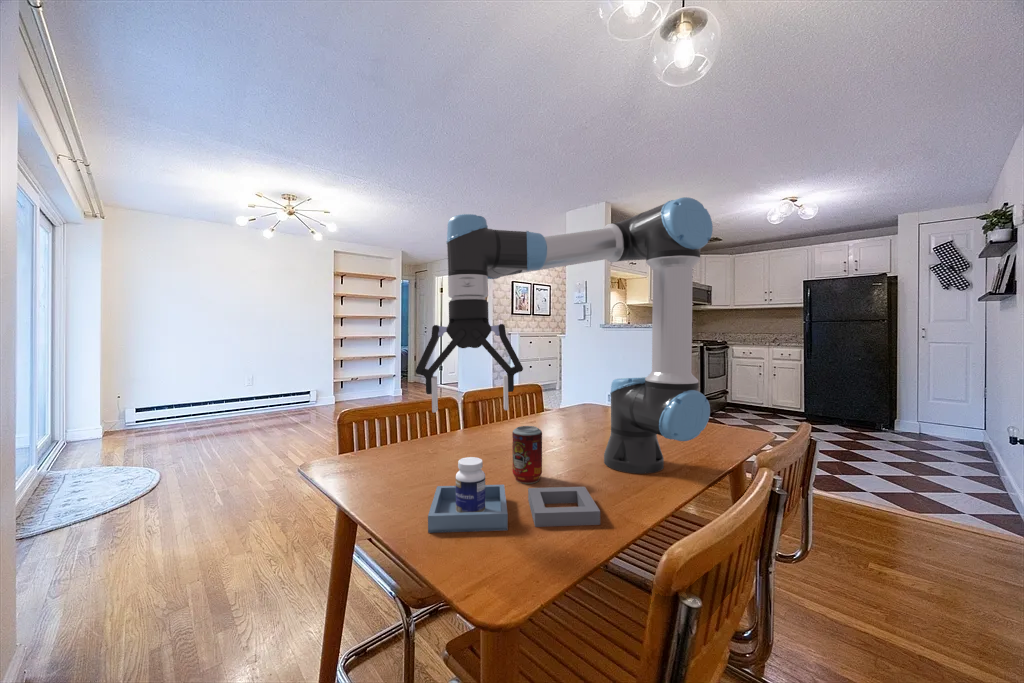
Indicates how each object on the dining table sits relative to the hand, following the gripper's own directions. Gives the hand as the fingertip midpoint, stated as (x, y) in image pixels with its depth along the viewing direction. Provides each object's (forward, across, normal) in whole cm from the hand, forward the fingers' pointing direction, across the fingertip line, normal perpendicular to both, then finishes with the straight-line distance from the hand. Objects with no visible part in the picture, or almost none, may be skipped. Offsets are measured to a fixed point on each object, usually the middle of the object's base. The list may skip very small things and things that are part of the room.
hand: (470, 410), depth 80 cm
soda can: (+21, +12, +18) cm, 30 cm away
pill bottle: (+20, 0, 0) cm, 20 cm away
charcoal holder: (+20, +17, 0) cm, 27 cm away
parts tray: (+20, -1, 0) cm, 20 cm away
